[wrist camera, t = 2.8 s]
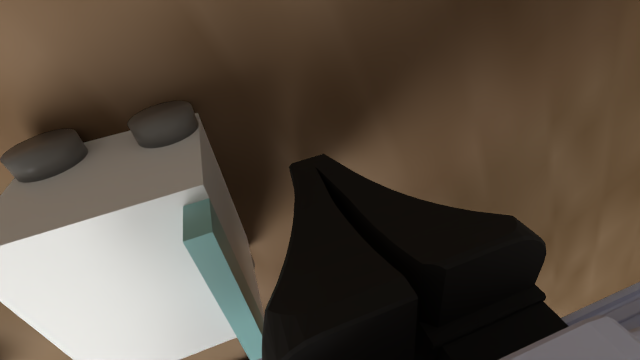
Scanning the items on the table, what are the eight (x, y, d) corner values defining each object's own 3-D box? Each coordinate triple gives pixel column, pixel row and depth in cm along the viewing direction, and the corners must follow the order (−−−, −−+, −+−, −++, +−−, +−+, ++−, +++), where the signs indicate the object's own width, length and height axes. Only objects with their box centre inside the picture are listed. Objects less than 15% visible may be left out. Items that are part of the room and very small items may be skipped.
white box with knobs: (250, 246, 15) (278, 368, 10) (135, 286, 14) (111, 438, 9) (191, 95, 10) (194, 194, 6) (18, 138, 10) (-125, 291, 5)
